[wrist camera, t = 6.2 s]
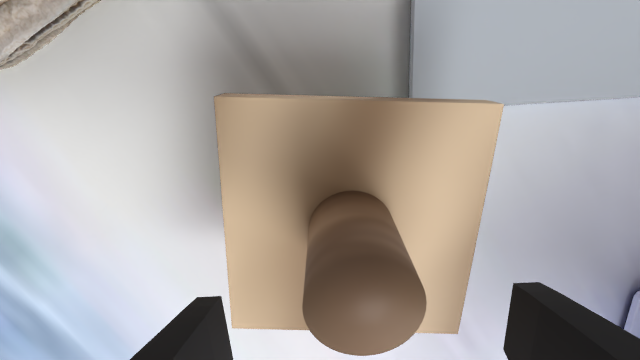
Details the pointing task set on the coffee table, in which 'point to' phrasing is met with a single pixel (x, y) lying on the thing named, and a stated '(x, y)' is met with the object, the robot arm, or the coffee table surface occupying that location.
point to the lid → (352, 212)
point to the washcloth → (34, 25)
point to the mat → (525, 50)
